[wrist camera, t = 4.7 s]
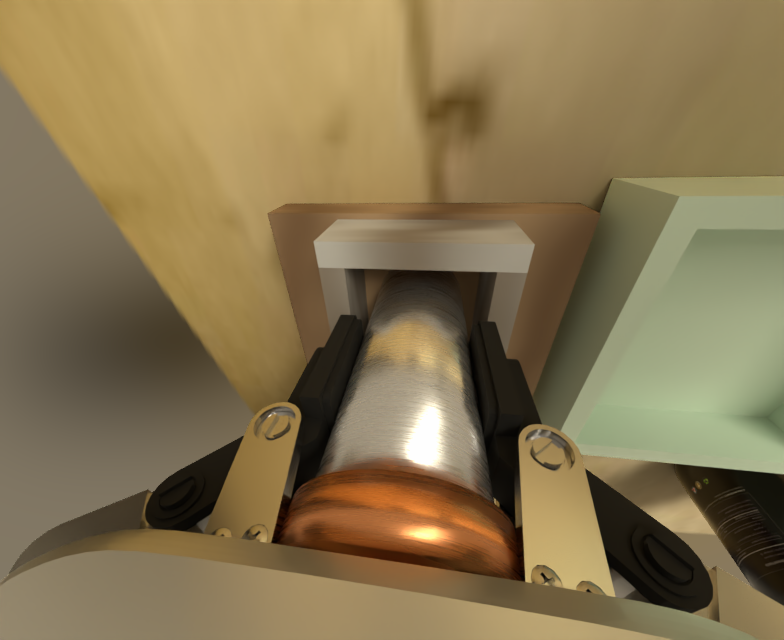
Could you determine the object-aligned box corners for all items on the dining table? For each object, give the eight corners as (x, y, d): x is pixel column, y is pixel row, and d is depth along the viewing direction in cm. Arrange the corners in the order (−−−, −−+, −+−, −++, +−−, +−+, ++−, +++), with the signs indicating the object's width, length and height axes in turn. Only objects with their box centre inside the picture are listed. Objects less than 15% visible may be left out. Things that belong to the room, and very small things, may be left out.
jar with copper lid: (472, 253, 13) (570, 570, 4) (461, 335, 15) (500, 640, 6) (371, 251, 13) (231, 521, 4) (377, 330, 16) (299, 604, 7)
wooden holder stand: (579, 203, 13) (659, 243, 8) (507, 423, 22) (527, 500, 17) (286, 203, 14) (218, 237, 10) (332, 407, 23) (307, 474, 19)
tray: (1026, 172, 10) (1302, 193, 7) (758, 415, 18) (829, 478, 15) (612, 178, 12) (679, 196, 9) (531, 398, 20) (550, 451, 17)
